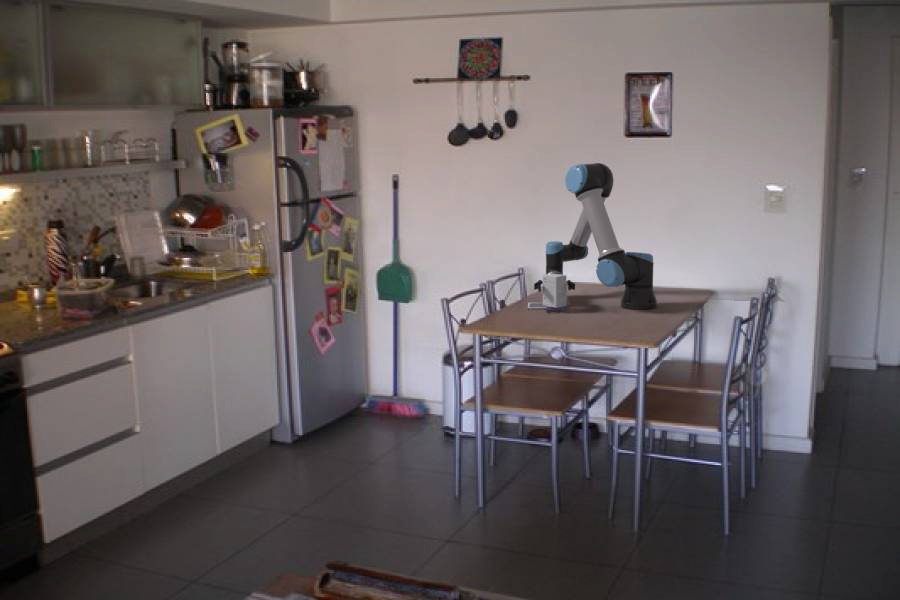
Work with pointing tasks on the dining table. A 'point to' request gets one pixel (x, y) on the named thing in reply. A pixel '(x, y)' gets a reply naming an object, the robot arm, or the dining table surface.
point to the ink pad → (554, 309)
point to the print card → (537, 306)
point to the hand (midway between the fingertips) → (554, 289)
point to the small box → (554, 290)
